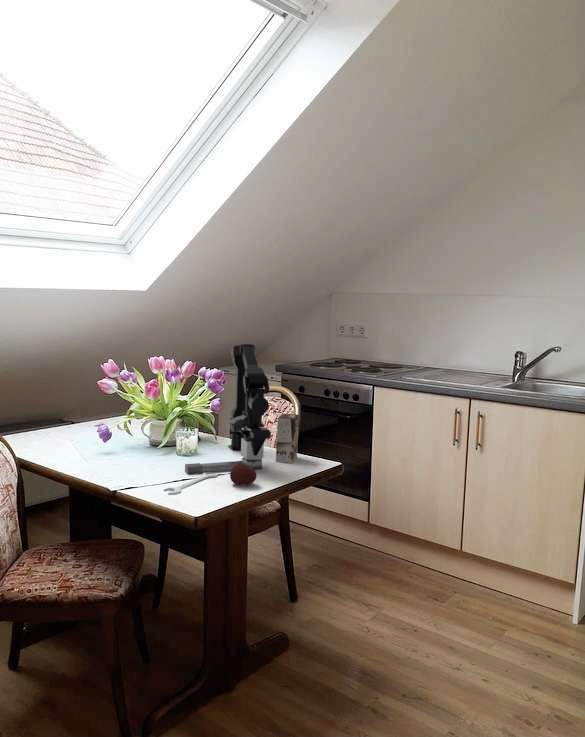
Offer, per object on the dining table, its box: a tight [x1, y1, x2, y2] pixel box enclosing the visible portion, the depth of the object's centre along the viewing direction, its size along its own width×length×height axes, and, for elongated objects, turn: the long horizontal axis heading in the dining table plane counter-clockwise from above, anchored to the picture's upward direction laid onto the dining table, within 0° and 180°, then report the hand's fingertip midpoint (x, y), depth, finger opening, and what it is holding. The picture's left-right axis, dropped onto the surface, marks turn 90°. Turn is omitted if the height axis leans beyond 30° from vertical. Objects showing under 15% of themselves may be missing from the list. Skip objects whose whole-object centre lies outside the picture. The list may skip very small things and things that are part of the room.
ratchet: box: [184, 457, 263, 475], centre depth 221 cm, size 7×26×7 cm, turn 113°
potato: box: [229, 463, 257, 486], centre depth 206 cm, size 7×8×7 cm
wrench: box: [163, 472, 219, 496], centre depth 205 cm, size 25×2×5 cm
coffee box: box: [275, 413, 300, 464], centre depth 237 cm, size 9×6×16 cm
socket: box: [240, 438, 265, 459], centre depth 224 cm, size 6×6×6 cm
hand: (252, 453), depth 225 cm, fingers closed on socket, 6 cm apart
